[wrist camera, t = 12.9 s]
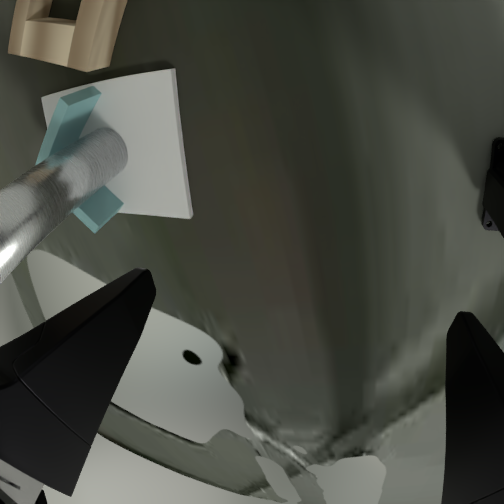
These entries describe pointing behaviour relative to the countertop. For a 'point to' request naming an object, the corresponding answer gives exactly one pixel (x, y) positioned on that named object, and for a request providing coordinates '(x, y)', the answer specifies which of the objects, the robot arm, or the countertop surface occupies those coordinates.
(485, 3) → the countertop surface
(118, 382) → the robot arm
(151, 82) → the plate with teal chevron
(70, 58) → the wooden frame
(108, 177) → the silver metal cylinder
